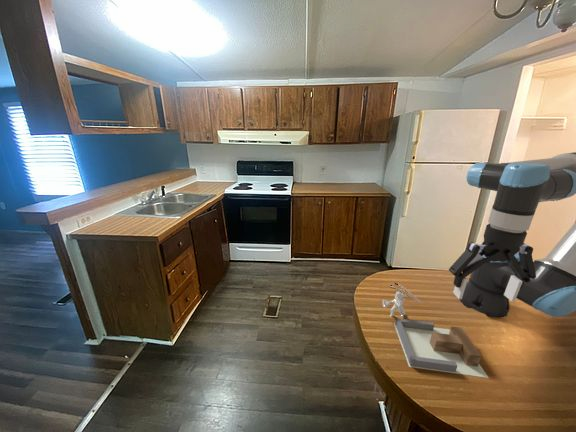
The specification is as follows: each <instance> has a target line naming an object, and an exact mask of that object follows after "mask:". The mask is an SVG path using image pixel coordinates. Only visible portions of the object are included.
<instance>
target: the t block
mask: <svg viewBox="0 0 576 432" xmlns="http://www.w3.org/2000/svg"><path fill="white" fill-rule="evenodd" d="M430 344H431V346H432V348H433V350H434V351H440V352H447V353H455V354H459V355H460V356H461V358H462V359H463V361H464V363H465V364H466V365H469V366H476V367H478V364H480V362H481V358H482V355H481V353H480V352H479V350H478V349H477V348H476V346H475V345H474V343H473V342H472V340H471V339H470V337H469V336H468V335H467V333H466V332H465V331H464V328H463V327H459V326H452V325H451V326H450V332H449V334H441V333H432V335H431V339H430Z"/></svg>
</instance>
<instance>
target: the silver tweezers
mask: <svg viewBox="0 0 576 432" xmlns="http://www.w3.org/2000/svg"><path fill="white" fill-rule="evenodd" d="M397 283H398V282H397ZM398 285H399V286H401V287H400V288H401V289H400V288H398V287H396V286H393V285H392V286H390V285H389V287H390V288H392V289H394V288H395V289H394V290H396V289H397V290H396V291H398V290H399V292H402V293H404V295H405V294H406V295H405V296H407V297H409V298H410V299H412V300H414V301H416V302H418V303H419V304H423V301H421V300H420V299H418V297H416V296H415V295H414V294H412V292H410V291H409V290H408V289H407V288H406V287H405V286H403V285H401V284H400V283H398ZM398 285H397V286H398ZM402 288H403V289H404V290H403V289H402ZM402 290H403V291H402ZM405 290H406V291H407V292H408V293H407V292H406V291H405ZM409 293H410V294H411V295H410V294H409Z"/></svg>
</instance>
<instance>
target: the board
mask: <svg viewBox="0 0 576 432" xmlns="http://www.w3.org/2000/svg"><path fill="white" fill-rule="evenodd" d="M393 326H394V328H395V331H396V335H397V336H398V339H399V342H400V345H401V348H402V350H403V354H404V355H405V356H404V357H405V359H406V362H407V364H408V368H414V369H415V368H416V369H421V370H429V371H430V370H431V371H436V372H443V373H450V374H458V375H465V376H473V377H479V378H487V379H489V376H488V374H487V373H486V372H485V370H484V369H483V367H482V366H481V364H480V363H479V364H478V367H476V366H469V365H466V364H465V363H464V361H463V359H462V358H461V356H460V355H459V354H455V353H447V352H440V351H434V350H433V348H432V346H431V344H430V339H431V335H432V333H441V334H449V332H450V329H451V328H450V329H449V328H442V327H441V328H440V327H435V323H434V322H433V321H427V320H426V321H424V320H416V319H415V320H414V319H406V318H395V322H393Z"/></svg>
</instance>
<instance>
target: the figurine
mask: <svg viewBox="0 0 576 432" xmlns="http://www.w3.org/2000/svg"><path fill="white" fill-rule="evenodd" d="M404 297H405V294H404V293H401V292H400V291H398V290H397V291H396V292H395V296H394V299H392V300H389V301H388V300H386V299H382V300H381V303H382V307H383V308H387V307H388V306H390V303H393V304H394V305H393V306H391V309H390V315H389V317H394V315H395V311H396V310H397V311H398V313H399V314H400V315H401V317H405V316H406V315H407V313H406V312H405V311H403V310H404V309H405V308H404V302H406V298H404Z"/></svg>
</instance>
